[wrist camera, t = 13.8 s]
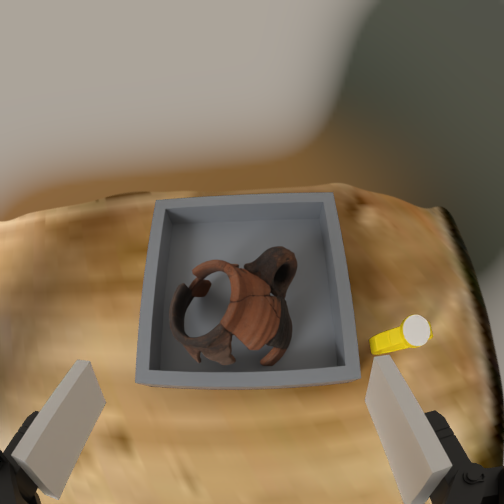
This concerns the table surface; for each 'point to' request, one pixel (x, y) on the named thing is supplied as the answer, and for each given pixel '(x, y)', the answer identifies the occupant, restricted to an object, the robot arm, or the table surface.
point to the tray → (218, 297)
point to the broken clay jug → (241, 307)
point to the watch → (402, 336)
